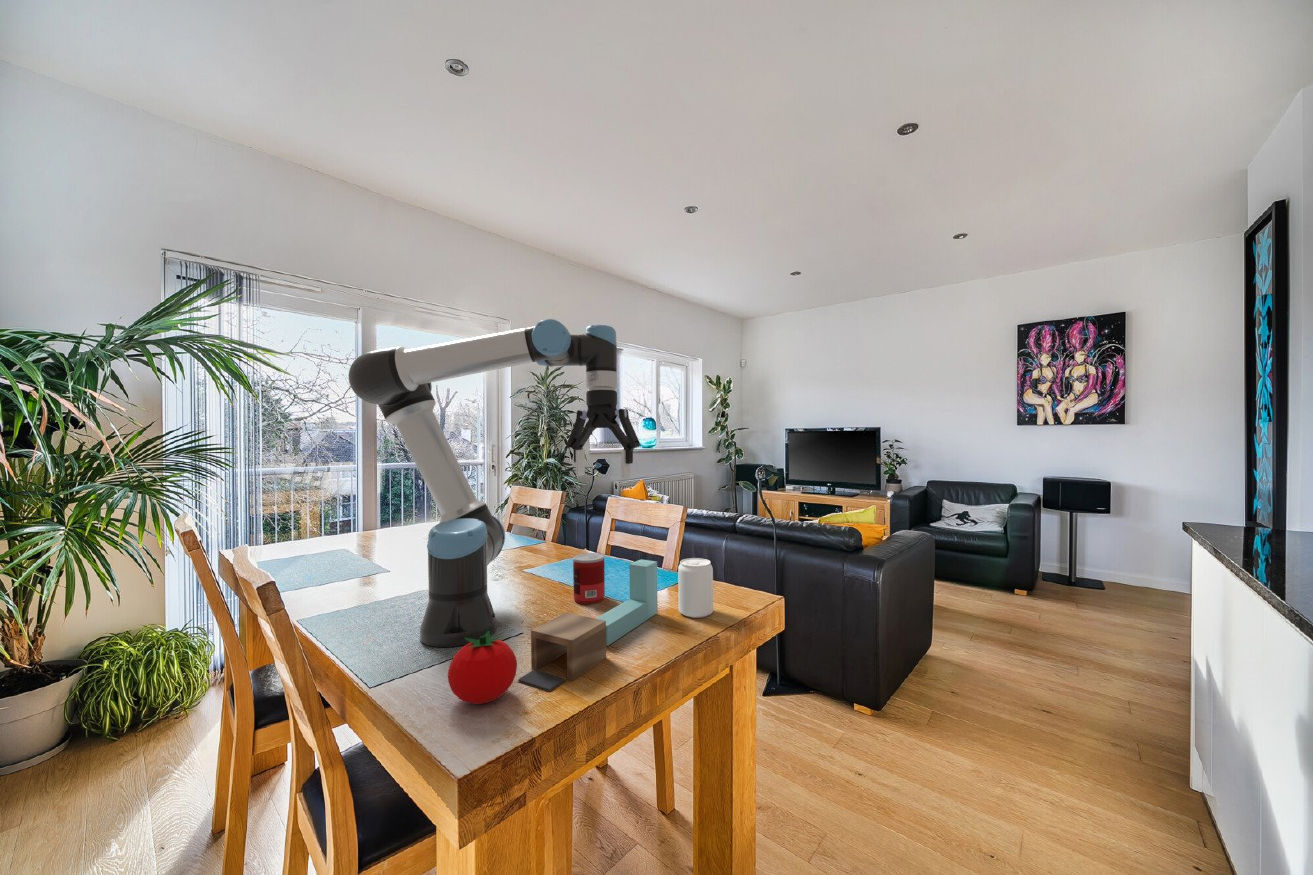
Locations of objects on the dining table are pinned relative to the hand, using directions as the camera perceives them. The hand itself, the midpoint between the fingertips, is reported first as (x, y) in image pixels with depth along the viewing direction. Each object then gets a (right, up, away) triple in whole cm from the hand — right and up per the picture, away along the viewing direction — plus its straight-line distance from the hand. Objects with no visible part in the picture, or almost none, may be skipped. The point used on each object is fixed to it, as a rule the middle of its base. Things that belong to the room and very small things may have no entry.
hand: (602, 476), depth 121 cm
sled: (+7, -32, -13) cm, 35 cm away
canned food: (-4, -32, +5) cm, 33 cm away
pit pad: (-6, -32, -37) cm, 49 cm away
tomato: (-15, -33, -42) cm, 55 cm away
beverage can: (+22, -32, -5) cm, 39 cm away
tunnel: (-3, -32, -30) cm, 44 cm away
